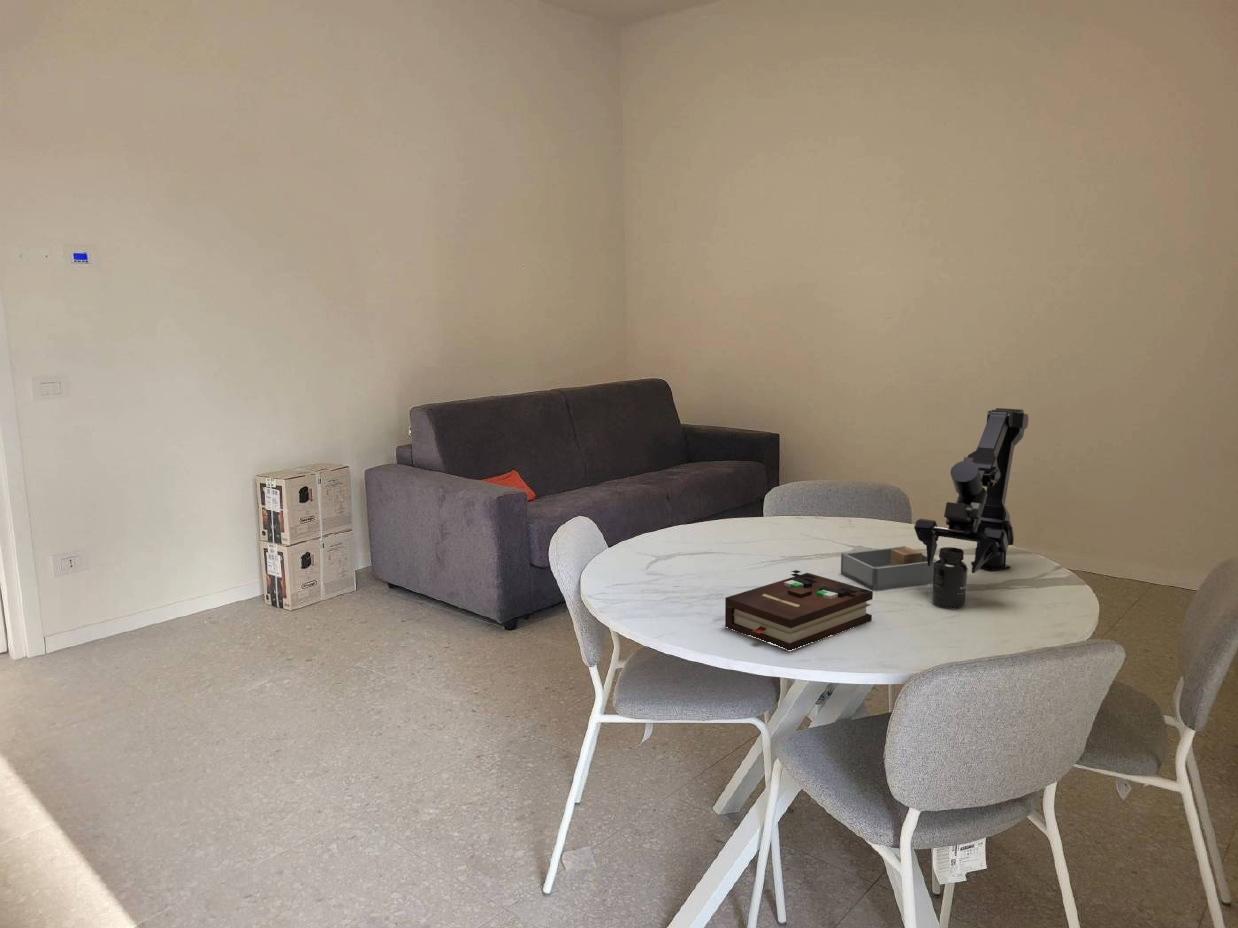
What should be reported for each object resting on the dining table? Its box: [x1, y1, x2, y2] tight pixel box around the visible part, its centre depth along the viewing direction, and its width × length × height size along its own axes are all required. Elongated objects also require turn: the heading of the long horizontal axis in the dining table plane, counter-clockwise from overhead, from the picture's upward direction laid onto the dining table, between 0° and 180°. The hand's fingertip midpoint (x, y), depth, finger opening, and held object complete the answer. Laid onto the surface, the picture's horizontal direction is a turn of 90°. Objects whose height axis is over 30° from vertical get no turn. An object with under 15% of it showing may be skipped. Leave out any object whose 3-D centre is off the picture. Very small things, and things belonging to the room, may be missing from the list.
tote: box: [840, 545, 939, 592], centre depth 213 cm, size 18×14×5 cm
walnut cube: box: [890, 546, 923, 566], centre depth 215 cm, size 5×5×5 cm
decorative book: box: [724, 569, 874, 650], centre depth 184 cm, size 19×8×30 cm
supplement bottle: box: [931, 546, 969, 609], centre depth 194 cm, size 7×7×12 cm
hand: (950, 568), depth 194 cm, fingers open, 9 cm apart
